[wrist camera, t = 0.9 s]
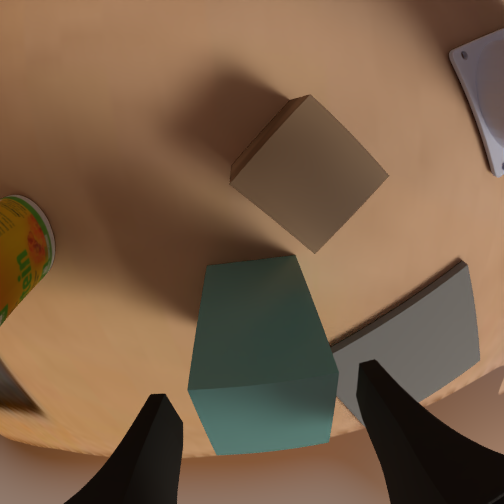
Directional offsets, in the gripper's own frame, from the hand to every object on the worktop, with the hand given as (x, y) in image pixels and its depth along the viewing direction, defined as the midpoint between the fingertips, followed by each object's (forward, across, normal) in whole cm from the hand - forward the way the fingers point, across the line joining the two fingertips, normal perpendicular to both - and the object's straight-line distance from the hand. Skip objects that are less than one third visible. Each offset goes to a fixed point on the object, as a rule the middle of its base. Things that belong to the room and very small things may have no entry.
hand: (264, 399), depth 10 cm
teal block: (+7, 0, 0) cm, 7 cm away
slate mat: (+7, -10, +8) cm, 15 cm away
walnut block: (+7, -3, -7) cm, 10 cm away
